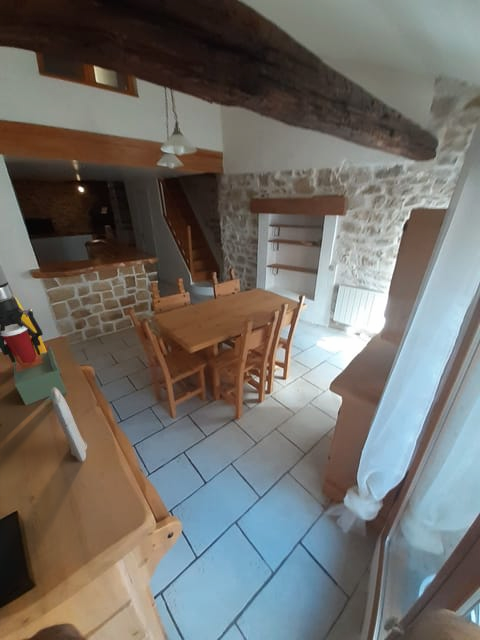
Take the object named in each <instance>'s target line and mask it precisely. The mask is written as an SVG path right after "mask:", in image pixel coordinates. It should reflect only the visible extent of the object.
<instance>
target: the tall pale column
mask: <svg viewBox="0 0 480 640" xmlns="http://www.w3.org/2000/svg"><path fill="white" fill-rule="evenodd" d="M51 397H52V399H51V401H52V405H53V409H54V412H55V415H56V417H57V420H58V422H59V425H60V426H61V429H62V431H63V433H64V435H65V438H66V440H67V442H68V444H69V447H70V454H71V456H73V457H75V458H76V459H77V461H78V462H79V463H83V462H85V461H86V458H87V449H88V444H87V442H86V441H84V439H83V437H82V434H81V433H80V430H79V428H78V426H77V424H76V421H75V418H74V416H73V414H72V412H71V409H70V407H69V405H68V403H67V401H66V399H65V397H64V395H61V393H60V391H59V390H58V389H57V388H56V387H53V388H52V390H51Z"/></svg>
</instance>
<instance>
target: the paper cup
mask: <svg viewBox="0 0 480 640" xmlns="http://www.w3.org/2000/svg"><path fill="white" fill-rule="evenodd" d="M27 329H28V328H26V327H24V326H22V327H20V326H19V325H18V324H12V325H9V326H5V331H1V336H3V338H4V343H5V344H7V345H8V347H9V348H10V350H11V352H12V354H13V356H14V358H15V361H18V363H19V364H20V365H26V364H29V363H32V362H34V361H35V360H36V359H37V354H36V351H35V348H34V346H33V343H32V340H31V337H30V335H29V334H28V331H27Z"/></svg>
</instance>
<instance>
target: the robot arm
mask: <svg viewBox="0 0 480 640" xmlns="http://www.w3.org/2000/svg"><path fill="white" fill-rule="evenodd" d="M15 297H16V296H14V292H13V290H12V288H11V285H10V283H9V281H8V279H7V277H6V274H5V271H4V269H3V267H2V263H1V262H0V350H1V352H2V354H3V356H7V355H8V357H9V359H10V361H11V364H14V362H15V361H16V358H15V357H14V355H13V353H12V352H11V350H10V348H9V347H8V345H7V343H5V340H4V338H3V336H1V331H5V326H9V325H12V324H18V325H19V326H20V327H22V326H24V327H26V328H28V329H27V331H28V334H29V335H30V336H31V340H32V343H33V345H34V347H35V349H36V352H37V354H38V355H40V350H39V348H38V346H39V345H40V341H39V339H38V337H39V336H40V337H42V336H43V335H44V334H43V333H44V332H43V330H42V329H41V327H40V325H39V323H38V322H37V320H36V317H34V311H33V309H32V308H31V309H25V310H24V309H23V310H24V311H23V310H22V309H20V308H19V306H18V304H17V301H16V299H15ZM23 314H25V315H26V316H27V317H29V319H30V321H31V323H32V324H33V326H34V328H35V329H36V331H37V332H36V333H35V332H34V331H33V330H32V329H31V328H30V327H29V326H27V325H26V324H25V323H24V322H23V320H22V319H21V317H22V315H23Z"/></svg>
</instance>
